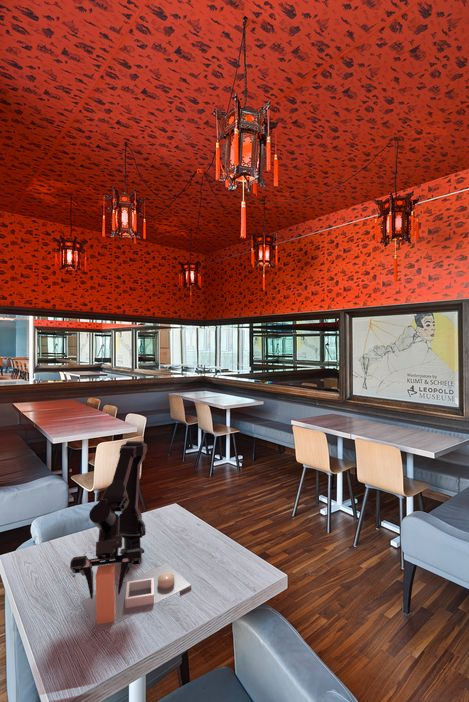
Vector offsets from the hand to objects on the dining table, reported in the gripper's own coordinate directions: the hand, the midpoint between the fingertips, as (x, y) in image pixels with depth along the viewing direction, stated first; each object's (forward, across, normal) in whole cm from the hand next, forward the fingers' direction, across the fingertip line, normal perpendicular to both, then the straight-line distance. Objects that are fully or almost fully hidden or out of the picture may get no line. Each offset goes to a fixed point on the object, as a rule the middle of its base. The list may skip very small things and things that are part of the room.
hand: (105, 596), depth 99 cm
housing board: (-1, +8, +12) cm, 14 cm away
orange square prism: (+4, 0, +6) cm, 7 cm away
